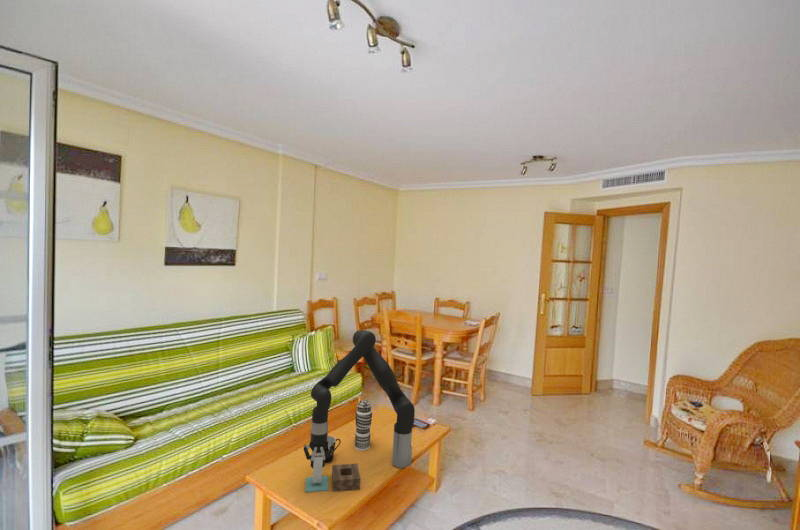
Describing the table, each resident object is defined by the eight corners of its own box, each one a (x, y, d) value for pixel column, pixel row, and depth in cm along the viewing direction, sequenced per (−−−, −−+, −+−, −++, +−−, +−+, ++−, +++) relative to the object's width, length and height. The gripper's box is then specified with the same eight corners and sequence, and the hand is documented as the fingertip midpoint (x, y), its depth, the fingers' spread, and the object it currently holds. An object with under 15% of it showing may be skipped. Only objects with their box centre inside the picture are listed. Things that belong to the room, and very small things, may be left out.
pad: (327, 476, 174) (327, 475, 174) (328, 490, 164) (328, 489, 164) (306, 478, 172) (306, 477, 172) (305, 492, 162) (305, 491, 162)
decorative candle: (362, 453, 196) (365, 407, 195) (350, 446, 202) (352, 401, 201) (374, 446, 203) (376, 401, 202) (361, 440, 209) (364, 397, 208)
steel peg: (321, 477, 170) (322, 451, 170) (321, 482, 166) (322, 456, 166) (312, 478, 170) (313, 452, 169) (312, 483, 166) (313, 457, 165)
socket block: (357, 473, 178) (357, 463, 178) (359, 489, 166) (360, 478, 166) (332, 475, 175) (332, 465, 175) (332, 491, 164) (333, 480, 163)
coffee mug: (318, 465, 183) (319, 445, 183) (317, 455, 191) (318, 436, 191) (341, 462, 186) (342, 443, 186) (339, 453, 195) (340, 434, 194)
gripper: (335, 425, 172) (333, 461, 173) (303, 426, 169) (302, 463, 170) (335, 433, 165) (333, 470, 166) (302, 435, 162) (301, 473, 163)
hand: (317, 466), depth 168 cm, fingers closed on steel peg, 3 cm apart
